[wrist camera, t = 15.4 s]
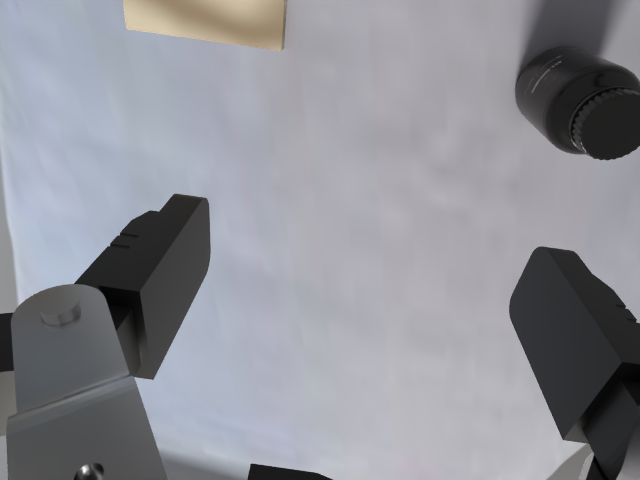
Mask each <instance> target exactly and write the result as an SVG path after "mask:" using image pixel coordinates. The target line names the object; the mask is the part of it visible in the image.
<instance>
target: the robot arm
mask: <svg viewBox="0 0 640 480" xmlns="http://www.w3.org/2000/svg"><path fill="white" fill-rule="evenodd" d="M209 262H210V218H209V203H208V200H207V198H203V197H196V196H189V195H182V194H174V195H173V196H172V197H171V198H170V199H169V201H168V202H167V203H166V204H165V205H164V207H163V208H162V209H161V210H160V211H159V212H157V211H148V212H146V213H144V214H143V215H141V216H139V217H137V218H135V219H133V220H131V221H130V223H129V224H128V225H127V226H126V227H125V228H124V229H123V230H122V231H121V232H120V236H117V237H116V238H115V239H114V240H113V241H112V242H111V243H110V247H109V246H108V247H107V248H106V249H105V250H104V251H103V252H102V253H101V254H100V256H99V257H98V258H97V259H96V260H95V261H94V262H93V263H92V264H91V265H90V267H89V268H88V269H87V270H86V271H85V272H84V273H83V274H82V275H81V276H80V278H79V279H78V280H77V281H76V282H75V283H74V284H68V285H61V286H55V287H52V288H48V289H46V290H43V291H40V292H38V293H36V294H34V295H33V296H31V297H29V298H28V299H26V300H25V301H24V302H23V303H21V304H20V305H19V306H18V308H17V309H16V310H15V312H14V313H4V314H0V436H4V435H6V439H7V440H6V441H7V464H8V480H168V478H167V475H166V472H165V469H164V466H163V463H162V460H161V457H160V454H159V451H158V448H157V445H156V442H155V439H154V436H153V433H152V430H151V427H150V424H149V421H148V418H147V414H146V411H145V408H144V405H143V402H142V399H141V396H140V393H139V390H138V387H137V384H136V381H135V379H134V377H138V378H145V379H152V380H153V379H154V377H155V375H156V373H157V371H158V369H159V367H160V365H161V363H162V361H163V359H164V357H165V355H166V353H167V351H168V349H169V347H170V346H171V344H172V342H173V340H174V338H175V336H176V334H177V332H178V330H179V328H180V326H181V324H182V322H183V320H184V318H185V316H186V314H187V312H188V310H189V308H190V306H191V304H192V302H193V300H194V298H195V296H196V294H197V292H198V290H199V288H200V286H201V284H202V282H203V280H204V278H205V276H206V273H207V270H208V267H209ZM625 307H626V306H625V304H624V303H623V302H622V300H621V299H620V298H619V297H618V295H617V294H616V293H615V292H614V290H613V289H611V288H610V287H609V286H608V285H606V284H605V283H604V282H602V281H601V280H600V279H598V278H597V277H596V276H595V275H593V274H592V273H591V272H590V270H589V269H588V268H587V267H586V265H585V264H584V263H583V261H582V260H581V259H580V257H579V256H578V255H577V254H576V253H575V252H574V251H570V250H563V249H556V248H549V247H538V248H536V249H535V250H534V251H533V253H532V255H531V256H530V259H529V261H528V263H527V265H526V267H525V269H524V271H523V273H522V275H521V277H520V279H519V281H518V283H517V285H516V287H515V290H514V292H513V294H512V296H511V299H510V305H509V313H510V319H511V321H512V324H513V326H514V328H515V331H516V333H517V335H518V338H519V340H520V342H521V344H522V347H523V349H524V351H525V354H526V356H527V358H528V361H529V363H530V365H531V368H532V370H533V372H534V374H535V377H536V379H537V381H538V384H539V386H540V388H541V391H542V393H543V395H544V398H545V400H546V402H547V404H548V407H549V409H550V411H551V414H552V416H553V418H554V421H555V423H556V425H557V428H558V430H559V432H560V434H561V437H562V439H563V440H567V441H574V442H581V443H588V444H590V446H591V449H592V451H593V452H592V453H591V454H590V455H589V456H588V457H587V459H586V460H585V462H584V465H583V468H582V471H581V474H580V476H579V479H578V480H640V323H636V320H637V319H636V318H635V317H634V316H633V314H632V313H631V312H630V311H629V309H626V308H625ZM248 480H332V479H330V478H328V477H325V476H323V475H321V474H318V473H314V472H307V471H300V470H293V469H286V468H279V467H272V466H265V465H258V464H251V466H250V470H249V475H248Z"/></svg>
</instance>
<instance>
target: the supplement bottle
mask: <svg viewBox="0 0 640 480" xmlns="http://www.w3.org/2000/svg"><path fill="white" fill-rule="evenodd" d="M516 103H517V106H518V108H519V110H520V112H521V113H522V114H523V116H524V117H525V118H526V119H527V120H528V121H529V122H530V123H531V124H532V125H533V126H534V127H535V128H536V129H538V130H539V131H540V132H541V133H542V134H543V135H544V136H545V137H546V138H547V139H548V140H549V141H550V142H551V143H552V144H553V145H554V146H556V147H557V148H558V149H560V150H562V151H564V152H567V153H571V154H579V155H581V154H587V155H588V156H591V157H592V158H594V159H599V160H604V159H605V160H610V159H616V158H620V157H623V156H624V155H627V154H630V153H631V152H632V151H634V150H636V149H637V148H638V147H639V146H640V81H639V79H638V78H637V77H636V76H635V74H633V73H632V72H631V71H629V70H628V69H626V68H624V67H622V66H619V65H617V64H615V63H612V62H610V61H607V60H605V59H603V58H600V57H598V56H595V55H593V54H590V53H588V52H586V51H583V50H580V49H577V48H573V47H559V48H554V49H551V50H549V51H546V52H544V53H542V54H541V55H539V56H538V57H536V58H535V59H534V60H533V61H531V62H530V63H529V64H528V66H527V67H526V68H525V69H524V71H523V72H522V74H521V76H520V78H519V80H518V83H517V87H516Z"/></svg>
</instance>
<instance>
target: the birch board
mask: <svg viewBox="0 0 640 480" xmlns="http://www.w3.org/2000/svg"><path fill="white" fill-rule="evenodd" d="M123 5H124V13H125V21H126V29H129V30H137V31H144V32H151V33H158V34H165V35H172V36H179V37H186V38H193V39H200V40H207V41H214V42H221V43H228V44H236V45H243V46H250V47H257V48H264V49H271V50H278V51H282V50H283V49H284V38H285V22H286V7H287V0H123Z"/></svg>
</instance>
